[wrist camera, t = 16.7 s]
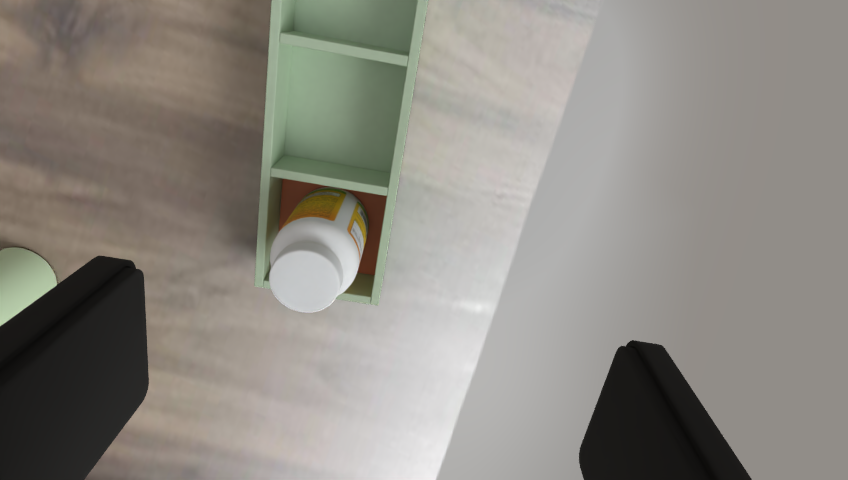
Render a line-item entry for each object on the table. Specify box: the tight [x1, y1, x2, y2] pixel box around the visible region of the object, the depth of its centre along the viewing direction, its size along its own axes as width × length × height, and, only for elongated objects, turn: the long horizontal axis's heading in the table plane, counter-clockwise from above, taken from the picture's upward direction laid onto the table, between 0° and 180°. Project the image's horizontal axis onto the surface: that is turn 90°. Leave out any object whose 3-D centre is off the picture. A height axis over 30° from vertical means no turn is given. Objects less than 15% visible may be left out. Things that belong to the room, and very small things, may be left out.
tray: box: [254, 0, 428, 305], centre depth 35 cm, size 9×25×4 cm, turn 170°
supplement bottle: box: [269, 187, 369, 313], centre depth 34 cm, size 5×5×10 cm
